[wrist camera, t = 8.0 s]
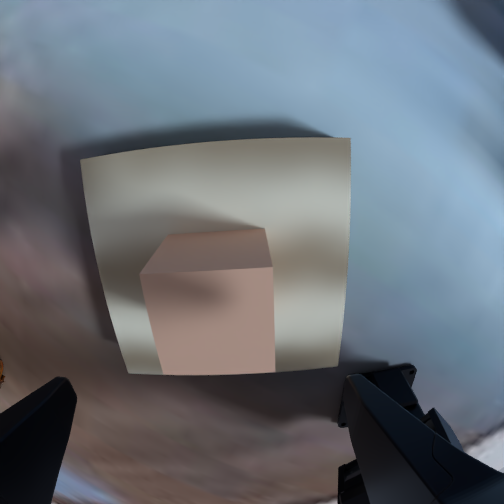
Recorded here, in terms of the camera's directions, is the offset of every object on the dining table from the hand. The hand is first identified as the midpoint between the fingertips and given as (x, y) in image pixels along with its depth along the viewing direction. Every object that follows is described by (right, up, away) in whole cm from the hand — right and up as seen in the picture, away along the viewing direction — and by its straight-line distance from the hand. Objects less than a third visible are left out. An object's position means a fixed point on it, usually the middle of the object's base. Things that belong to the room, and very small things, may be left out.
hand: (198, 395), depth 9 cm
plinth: (0, +4, +11) cm, 12 cm away
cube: (0, +3, +8) cm, 9 cm away
